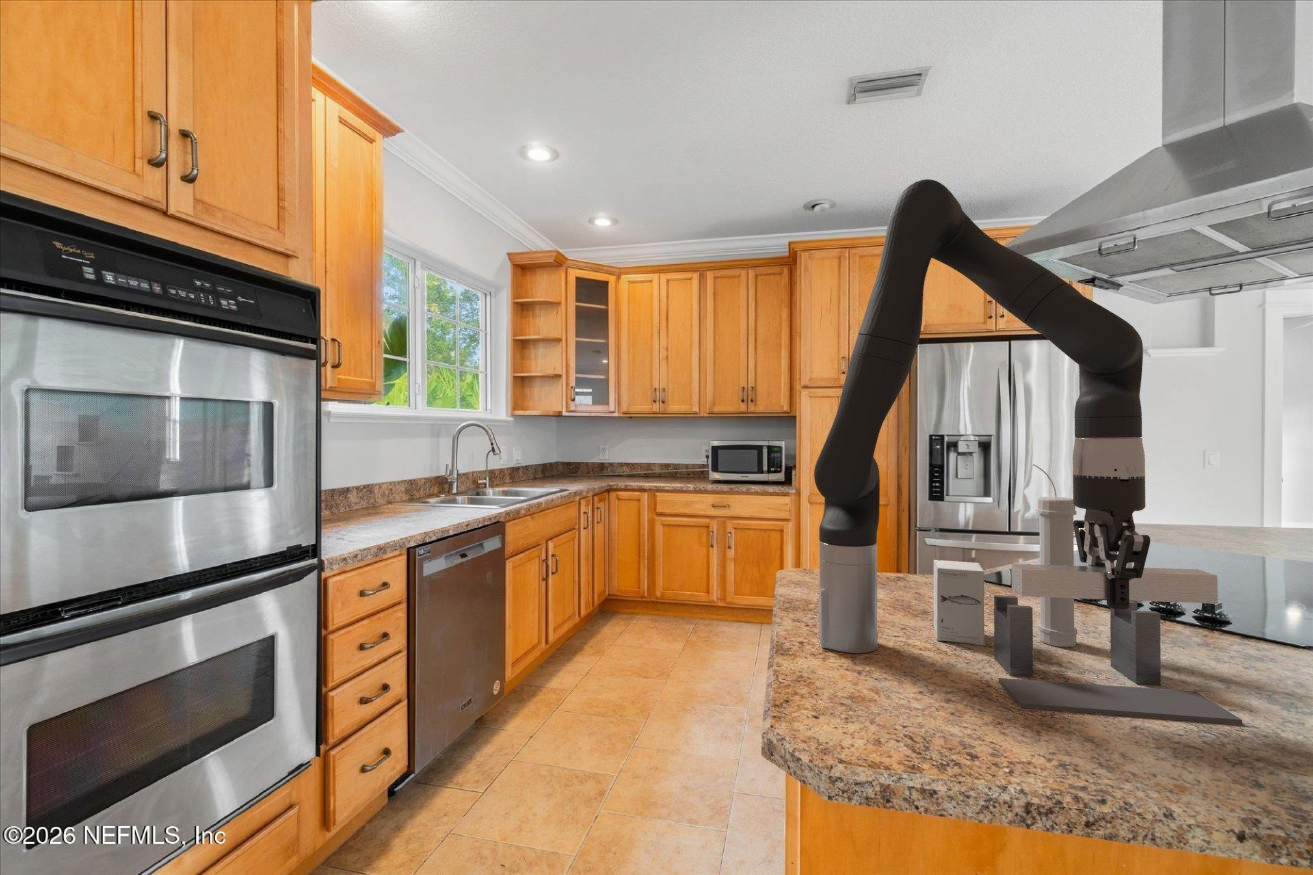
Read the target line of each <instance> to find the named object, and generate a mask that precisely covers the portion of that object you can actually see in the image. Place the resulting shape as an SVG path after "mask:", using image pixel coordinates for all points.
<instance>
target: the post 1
mask: <svg viewBox="0 0 1313 875" xmlns="http://www.w3.org/2000/svg"><path fill="white" fill-rule="evenodd" d="M1033 615H1034V613H1033V607H1032V606H1030V605H1021V604H1020V605H1019V597H1017V596H1016V595H998V594H997V595H996V594H995V595H993V625H994V626H993V631H994V633H993V636H994V637H993V639H994V640H993V642H994V645H993V646H994V651H993V653H994V654H993V655H994V657H993V658H994V660H995V662H997V663H998V664H999V666H1001V667H1002V668H1003V670H1005V672H1006V673H1007V674H1009V676H1014V677H1027V678H1028V677H1029V678H1033V677H1034V628H1033V627H1034V624H1033V622H1034V621H1033V618H1034V617H1033Z"/></svg>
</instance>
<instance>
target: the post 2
mask: <svg viewBox="0 0 1313 875" xmlns="http://www.w3.org/2000/svg"><path fill="white" fill-rule="evenodd" d="M1109 608H1110V607H1109ZM1109 610H1110V613H1109V614H1110V616H1109V617H1110V618H1109V619H1110V625H1109V626H1110V629H1109V630H1110V631H1109V632H1110V667H1111V668H1113V669H1114V670H1116V671H1117V673H1118V672H1119V673H1120V674H1121V675H1123V676H1124V677H1125V678H1127V679H1128V680H1130V681H1131V682H1133V683H1134V684H1137V685H1146V686H1147V685H1148V686H1149V685H1150V686H1162V676H1161V674H1162V673H1161V672H1162V670H1161V669H1162V668H1161V666H1162V664H1161V661H1162V660H1161V649H1162V648H1161V613H1160V612H1157V611H1155V610H1154V611H1153V610H1152V611H1151V610H1138V602H1136V601H1135V600H1129V608H1128V609H1112V608H1110V609H1109Z"/></svg>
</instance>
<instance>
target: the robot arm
mask: <svg viewBox="0 0 1313 875" xmlns="http://www.w3.org/2000/svg"><path fill="white" fill-rule="evenodd" d="M880 257H881V258H880V264H879V267H878V271H877V274H876V277H875V281H874V284H873V287H872V290H871V293H870V296H869V300H868V302H867V306H866V309H865V311H864V312H865V313H864V316H863V320H862V321H861V322H862V323H861V325H860V328H859V330H858V335H857V337H856V340H855V343H854V347H853V350H852V353H851V357H850V359H849V360H850V361H849V364H848V369H847V370H846V371H847V372H846V375H845V379H844V382H843V386H842V390H841V393H840V394H841V395H840V399H839V404H838V407H837V412H836V415H835V417H834V420H833V422H832V424H831V427H830V428H829V429H830V430H829V432H828V434H827V437H826V439H825V442H824V444H823V446H822V449H821V451H820V453H819V454H818V458H817V460H816V463H815V465H814V470H813V477H814V478H813V479H814V484H815V486H816V488H817V491H818V492H819V494H820V495H821V496H822V497H823V498H824V508H823V514H822V518H821V521H820V523H819V526H818V527H819V529H818V531H819V532H818V533H819V534H818V535H819V538H818V539H819V543H818V544H819V581H818V638H819V642H820V647H821V648H823V649H830V650H833V651H837V652H842V653H850V654H863V653H864V654H865V653H869V652H873V651H875V650H876V649H878V644H879V643H878V639H879V632H878V631H879V630H878V628H879V627H878V543H877V542H878V530H879V523H880V506H881V505H880V504H881V503H880V502H881V501H880V500H881V498H880V493H881V491H880V490H881V487H880V486H881V484H880V483H881V481H880V480H881V479H880V469H879V466H878V462H877V460H876V458H875V457H874V456H875V451H876V447H877V442H878V440H879V437H880V436H879V435H880V432H881V429H882V426H883V424H884V422H885V419H886V418H887V416H888V414H889V413H890V410H891V409H892V407H893V405H895V404H894V403H895V402H896V400H897V398H898V396H899V395H900V393H901V390H902V389H903V387H904V385H905V383H906V380H907V378H908V376H909V374H910V371H911V367H912V366H913V365H912V364H913V363H914V362H913V361H914V358H915V356H916V352H917V349H918V346H919V343H920V338H921V337H920V336H921V332H922V324H923V310H924V309H923V308H924V306H923V305H924V290H925V288H924V287H925V281H926V277H927V272H928V269H929V266H930V263H931V260H932V259H933V260H936V261H937V262H939V263H941V264H944V265H946V266H948V267H949V268H951V269H953V270H954V271H957V272H958V273H959V274H961V275H962V276H964V277H965V278H967V279H968V280H970V281H971V282H972V283H973V284H974V285H976V286H977V287H978V288H979V289H980V290H982V291H983V292H984V293H985V294H986V295H987V296H989V297H990V298H991V299H992V300H993V301H995V302H996V303H997V304H998V305H999V306H1001V307H1002V308H1003V309H1004V310H1006V311H1007V312H1008V313H1010V314H1011V315H1012V316H1014V317H1015V318H1017V319H1018V320H1019V321H1021V322H1022V323H1023V324H1025V325H1026V326H1028V327H1029V328H1031V330H1033V331H1035V332H1037V333H1039V334H1040V335H1043V336H1044V337H1045V338H1046V339H1047V340H1049V341H1050V343H1051V344H1053V346H1055V347H1056V348H1057V349H1058V350H1060V351H1061V352H1063V354H1064V355H1066V356H1067V357H1068V358H1070V360H1071V361H1073V362H1075V363H1076V364H1077V365H1078V372H1079V375H1078V378H1079V380H1078V382H1079V384H1078V385H1079V395H1078V398H1077V399H1076V402H1075V406H1074V416H1073V417H1074V445H1073V450H1072V499H1073V504H1074V505H1075V508H1079V509H1082V510H1083V509H1084V510H1085V514H1084V519H1082V520H1081V519H1080V520H1079V519H1073V527H1074V537H1075V541H1076V546H1077V551H1078V556H1079V557H1078V558H1079V561H1080V562H1081V563H1082V564H1083V563H1085V564H1086V565H1085V566H1102V567H1106V573H1107V577H1108V579H1107V599H1094V600H1097V601H1106V605H1107V607H1108V608H1112V609H1128V608H1129V601H1130V600H1129V580H1132V579H1133V578H1141V577H1142V574H1143V570H1144V568H1145V565H1146V562H1147V558H1148V553H1149V549H1150V546H1151V538H1150V535H1148V534H1139V533H1138V532H1137V531H1136V525H1135V524H1136V523H1135V521H1134V517H1133V514H1134V512H1141V511H1143V510H1144V509H1145V508H1146V455H1145V449H1144V444H1143V418H1142V417H1143V413H1142V412H1143V410H1142V402H1141V394H1140V393H1141V386H1142V385H1141V384H1142V379H1143V378H1142V375H1143V365H1144V364H1143V363H1144V362H1143V359H1144V344H1143V338H1142V337H1141V335H1140V334H1139V332H1138V331H1137V330H1136V328H1135V327H1134V326H1133V325H1132V324H1131V323H1130V322H1128V321H1127V320H1125V319H1123V318H1122V317H1120V316H1119V315H1117V314H1115V313H1114V312H1112V311H1110V310H1109V309H1107V308H1106V307H1104V306H1102V305H1101V304H1098V303H1097V302H1095V301H1093V300H1091V299H1090V298H1088V297H1086V296H1084V295H1083V294H1082V293H1081V292H1080V290H1077V289H1076V288H1075V287H1074V286H1072V284H1070V283H1069V282H1067V281H1066V280H1064V279H1063V278H1061V277H1059V276H1058V275H1056V274H1055V273H1054V272H1052V271H1051V270H1050V269H1048V268H1046V267H1045V266H1043V265H1041V264H1040V263H1038V262H1037V261H1036V260H1035V261H1034V260H1033V259H1031V258H1029V257H1027V256H1026V255H1023V254H1021V253H1018V252H1017V251H1015V250H1013V249H1011V248H1009V247H1007V246H1005V245H1003V244H1001V243H999V242H998V241H996V240H995V239H994V238H992V237H991V236H989V235H988V234H987V233H985V232H984V230H982V229H981V228H980V227H979V225H977V224H976V223H975V222H974V221H973V220H972V219H971V218H970V217H969V216H968V214H966V213H965V211H963V208H962V206H961V204H960V202H959V201H958V199H957V198H956V197H955V196H954V194H953V193H952V192H951V191H950V190H949V188H948V187H946V186H945V184H943V183H941V182H940V181H937V180H935V179H930V178H929V179H927V178H926V179H920V180H917V181H915V182H913V183H911V184H909V185H908V186H907V187H906V188H905V189H904V190H903V191H902V192H901V193H900V194H899V196H898V197H897V198H896V200H895V201H894V204H893V206H892V208H891V210H890V213H889V218H888V221H887V228H886V234H885V238H884V242H883V248H882V253H881V256H880ZM1132 567H1133V568H1132Z"/></svg>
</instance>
